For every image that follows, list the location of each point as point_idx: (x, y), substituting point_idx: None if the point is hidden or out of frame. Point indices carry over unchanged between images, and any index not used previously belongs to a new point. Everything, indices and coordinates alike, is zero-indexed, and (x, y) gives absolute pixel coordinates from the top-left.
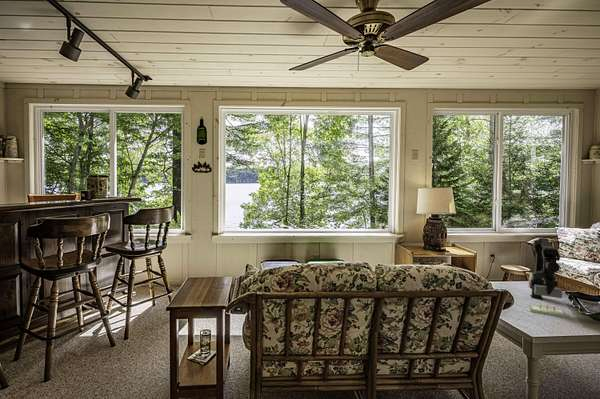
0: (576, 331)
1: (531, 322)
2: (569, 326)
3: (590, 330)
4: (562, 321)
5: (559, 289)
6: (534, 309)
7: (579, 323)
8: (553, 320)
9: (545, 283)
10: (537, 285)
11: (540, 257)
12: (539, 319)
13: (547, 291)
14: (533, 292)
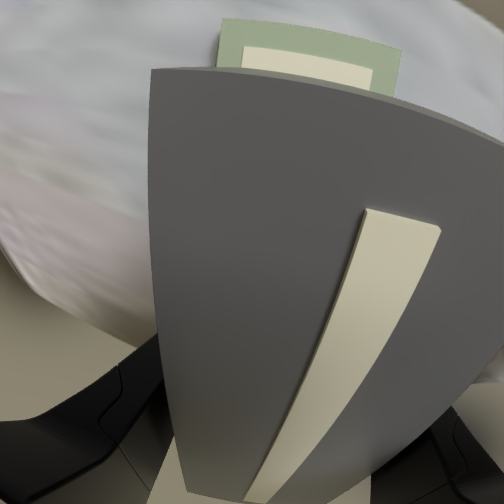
0: (16, 234)
1: (4, 30)
2: (53, 229)
3: (70, 304)
4: (110, 223)
5: (206, 490)
6: (237, 59)
7: (139, 307)
8: (94, 167)
9: None
10: (465, 263)
11: None
12: (64, 73)
13: (156, 337)
14: None
